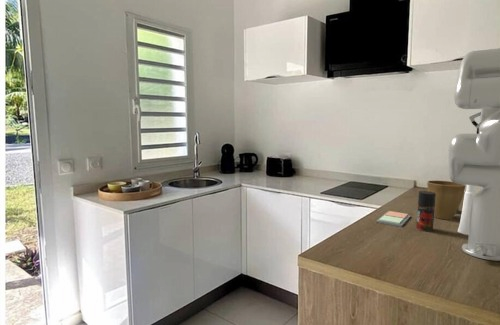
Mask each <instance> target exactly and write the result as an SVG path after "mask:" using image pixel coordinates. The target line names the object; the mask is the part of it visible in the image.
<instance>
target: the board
mask: <svg viewBox="0 0 500 325" xmlns="http://www.w3.org/2000/svg"><path fill="white" fill-rule="evenodd" d="M409 219H411V215H409V214H408V213H404V212H398V211H392V210H389V211H387V212H385V213H384V214H383V215H381V217H379V218H378V219H377V220H376V221H375V222H376V223H377V222H378V224H385V225H389V226H396V227H400V228H402V227H403V226H404V224H406V223H407V222H408V221H409Z"/></svg>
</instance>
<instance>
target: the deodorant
mask: <svg viewBox="0 0 500 325" xmlns="http://www.w3.org/2000/svg"><path fill="white" fill-rule="evenodd" d="M435 197H436V193H434V192H429V191H428V190H420V191H418V198H417V199H418V200H417V213H416V225H415V227H416V228H415V229H417V230H418V231H421V232H433V231H434V222H435V221H434V220H435V217H434V209H435Z"/></svg>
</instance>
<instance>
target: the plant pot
mask: <svg viewBox="0 0 500 325" xmlns="http://www.w3.org/2000/svg"><path fill="white" fill-rule="evenodd" d="M426 183H427V184H426V187H427V191H429V192H434V193H436V197H435V209H434V218H436V219H441V220H447V221H449V220H450V221H451V220H453V219H454V217H455V216H456V214H457V213H456V211H457V209H458V207H459V208H460V204H461V203H462V199H463V198H464V195H465V191H466V187H467V185H463V184H456V183H454V182H452V181H451V180H450V181H449V180H428V181H426Z"/></svg>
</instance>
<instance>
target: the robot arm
mask: <svg viewBox="0 0 500 325" xmlns="http://www.w3.org/2000/svg"><path fill="white" fill-rule="evenodd" d="M454 88H455V89H454V96H453V97H454V104H455V105H456V106H457V108H459V109H464V110H480V112H477V113H475V114H472V115H470V116H469V117H468V119H469V121H470V122H471V124H472V125H473V126H474V127H475V128H476V133H458V134H455V135H454V136H453V137H452V138H451V140H450V143H449V146H448V176H449V179H450V182H454V183H456V184H463V185H466V186H467V185H473V186H475V187H480V188H481V187H482V188H481V190H479V191H478V192H476V194H475V196H474V197H473V199H472V204H471V214H470V225H469V235H467V236H468V238H467V239H468V240H467V243H463V244H462V245H461V250H462V251H463V252H464V253H465V254H467V255H469V256H472V257H474V258H478V259H483V260H488V261H495V262H498V261H499V262H500V47H499V48H490V49H481V50H479V49H478V50H472V51H470V52H467V53H466V54H465V55H464V56H463V58H462V60H461V63H460V65H459V69H458V74H457V78H456V83H455V87H454ZM478 117H480V119H479V120H480V121H479V123H478V122H477V121H476V118H478Z"/></svg>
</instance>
